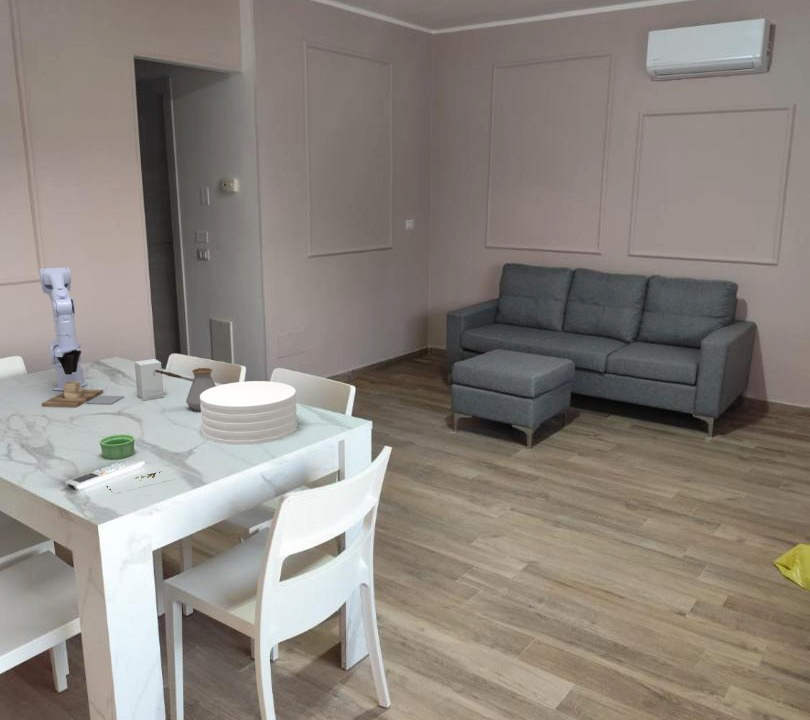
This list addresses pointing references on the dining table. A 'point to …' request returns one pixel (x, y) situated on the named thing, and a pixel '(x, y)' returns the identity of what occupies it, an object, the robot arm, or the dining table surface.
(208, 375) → the coffee pot
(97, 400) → the slate rubber mat
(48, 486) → the dining table surface
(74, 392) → the beech block
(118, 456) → the ramekin
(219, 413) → the plate stack
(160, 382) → the supplement box
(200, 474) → the dining table surface
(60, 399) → the walnut pocket board
